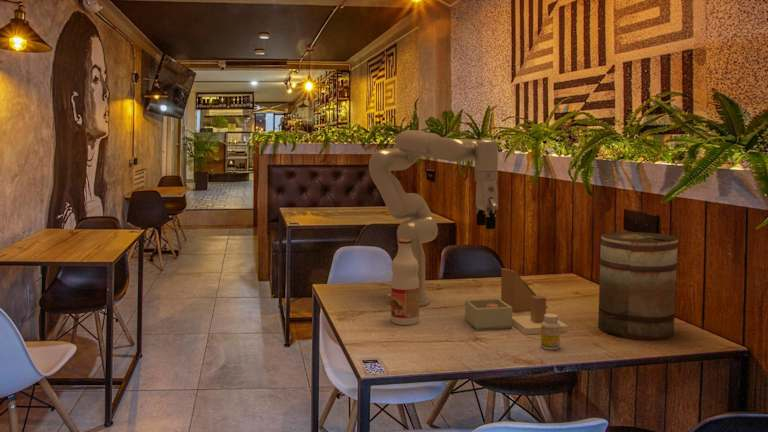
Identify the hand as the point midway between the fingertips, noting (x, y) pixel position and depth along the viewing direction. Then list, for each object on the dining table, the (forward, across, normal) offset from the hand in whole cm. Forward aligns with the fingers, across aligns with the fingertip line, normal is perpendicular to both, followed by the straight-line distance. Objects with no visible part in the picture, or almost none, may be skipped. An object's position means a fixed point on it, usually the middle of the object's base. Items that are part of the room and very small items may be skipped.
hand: (485, 227), depth 217 cm
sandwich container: (+32, +9, -19) cm, 38 cm away
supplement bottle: (+32, -35, -8) cm, 48 cm away
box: (+31, -9, +2) cm, 33 cm away
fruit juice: (+32, 0, +28) cm, 42 cm away
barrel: (+32, -24, -42) cm, 58 cm away
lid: (+31, -15, -13) cm, 37 cm away
